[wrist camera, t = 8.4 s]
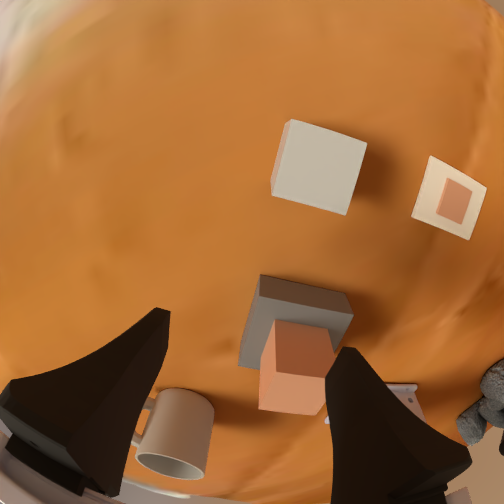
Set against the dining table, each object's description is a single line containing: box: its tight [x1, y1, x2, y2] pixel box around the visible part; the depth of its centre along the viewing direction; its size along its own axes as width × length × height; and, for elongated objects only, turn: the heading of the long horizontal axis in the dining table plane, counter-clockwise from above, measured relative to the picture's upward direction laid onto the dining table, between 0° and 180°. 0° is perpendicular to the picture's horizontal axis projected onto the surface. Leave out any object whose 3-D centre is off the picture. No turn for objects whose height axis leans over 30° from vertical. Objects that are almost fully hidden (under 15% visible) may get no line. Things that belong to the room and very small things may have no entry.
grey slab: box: [238, 275, 354, 370], centre depth 21 cm, size 7×7×3 cm
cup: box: [131, 388, 214, 480], centre depth 24 cm, size 7×10×9 cm
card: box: [411, 156, 487, 240], centre depth 18 cm, size 7×5×1 cm
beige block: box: [271, 119, 367, 216], centre depth 15 cm, size 4×4×5 cm
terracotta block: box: [259, 319, 336, 415], centre depth 18 cm, size 4×4×5 cm
